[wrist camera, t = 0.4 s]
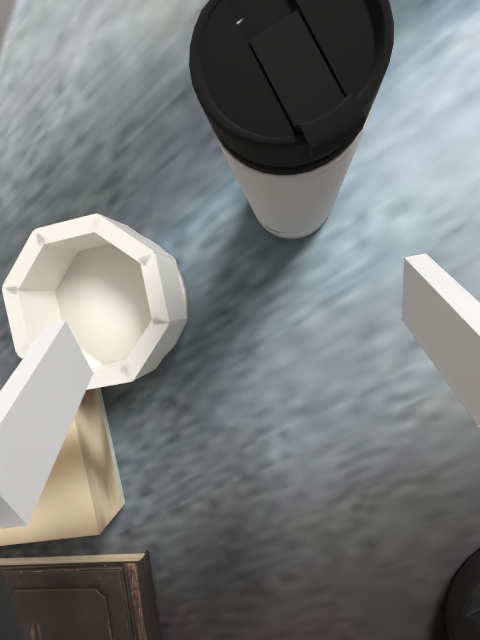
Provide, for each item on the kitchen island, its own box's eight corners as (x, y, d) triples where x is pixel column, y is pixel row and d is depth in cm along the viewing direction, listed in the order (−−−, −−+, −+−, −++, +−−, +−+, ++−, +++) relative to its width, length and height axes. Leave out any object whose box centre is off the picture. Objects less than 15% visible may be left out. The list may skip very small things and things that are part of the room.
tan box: (122, 506, 34) (99, 534, 30) (12, 520, 36) (-24, 548, 32) (96, 384, 34) (69, 396, 30) (-14, 404, 35) (-54, 418, 31)
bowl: (201, 358, 33) (180, 373, 27) (72, 382, 35) (26, 400, 29) (172, 218, 32) (144, 201, 26) (44, 249, 34) (-9, 240, 28)
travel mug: (277, 257, 31) (244, 193, 11) (240, 185, 31) (144, -3, 12) (348, 219, 30) (447, 78, 10) (310, 144, 30) (336, -137, 11)
